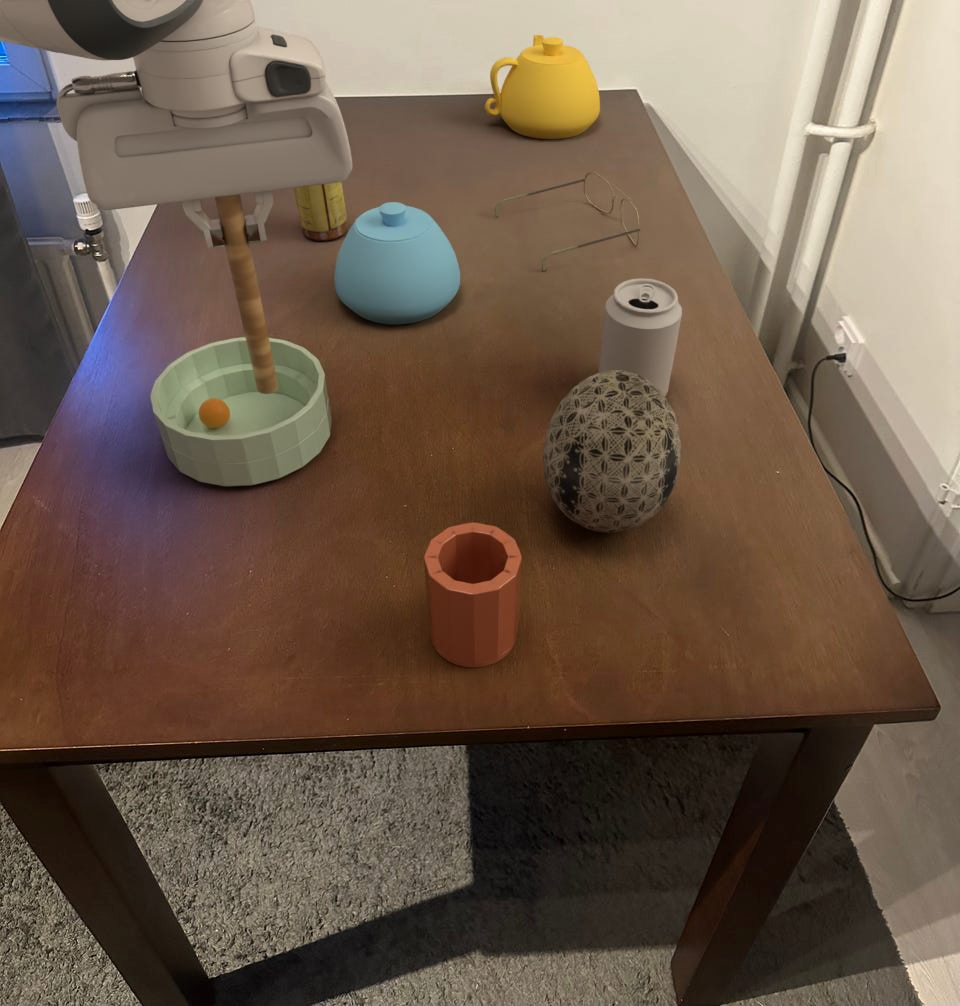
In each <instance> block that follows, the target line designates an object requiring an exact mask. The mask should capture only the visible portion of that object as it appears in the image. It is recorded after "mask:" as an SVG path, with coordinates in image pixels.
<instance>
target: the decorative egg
mask: <svg viewBox="0 0 960 1006" xmlns="http://www.w3.org/2000/svg"><path fill="white" fill-rule="evenodd" d="M681 441H682V440H681V433H680V427H679V423H678V419H677V416H676V413H675V411H674V409H673V407H672V405H671V403H670V402H669V400H668V399H667V397H666V396H664V395H663V394H662V392H661V391H660V390H659V389H658V388H657V387H656V386H655V385H654V384H652V383H651V382H650V381H648V380H647V379H645V378H644V377H642V376H640V375H638V374H636V373H633V372H630V371H624V370H610V371H603V372H600V373H598V372H597V373H595V374H592V375H591V376H588V377H587V378H585V379H583V380H582V381H579V383H578V384H576V385H574V387H572V388H571V389H570V391H568V392H567V394H566V395H565V396H564V397H563V398H562V400H561V401H560V403H559V404H558V405H557V408H556V409H555V411H554V413H553V414H552V417H551V420H550V422H549V425H548V428H547V430H546V434H545V438H544V444H543V450H542V451H543V452H542V468H543V475H544V479H545V485H546V486H547V490H548V492H549V495H550V497H551V498H552V500H553V502H554V504H555V505H556V506H557V508H558V509H559V510H560V511H561V512H562V514H564V515H565V516H566V517H567V518H568V519H569V520H571V521H572V522H574V523H575V524H576V525H579V526H581V527H583V528H585V529H588V530H590V531H594V532H599V533H609V534H610V533H612V534H613V533H621V532H625V531H626V532H627V531H628V530H632V529H635V528H637V527H640V526H642V525H643V524H645V523H646V522H649V520H651V519H652V518H654V517H655V516H656V515H657V514H658V512H659V511H660V510H661V509H662V508H663V507H664V506H665V504H666V503H667V501H668V500H669V498H670V496H671V494H672V492H673V490H674V488H675V485H676V482H677V479H678V477H679V473H680V465H681V458H682V442H681Z"/></svg>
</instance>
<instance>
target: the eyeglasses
mask: <svg viewBox="0 0 960 1006" xmlns="http://www.w3.org/2000/svg"><path fill="white" fill-rule="evenodd" d="M590 174H593V175H596V176H598V178H600V179H602V180H603V181H604V182H605V183H606V184H607V185H608V187H609V188H610V190H611V193H612V199H611V202H610V203H611V204H612V205H611V209H610V211H605V210H603V209H602V208H600V207H598V206H596V205H595V204H594V203H593V202H592V201H591V200H590V199H589V197H588V196H587V191H586V181H587V177H588V175H590ZM579 183H583V193H584V197H585V199H586V201H587V202H588V203H589V204H590V205H591V206H593V208H596V209H597V210H599V211H600V212H602V213H604V214H611V213H612V212H613V210H614V205H615V198H617V199H618V200H619V201H621V202H620V206H619V208H618V210H620V218H621V219H620V220H621V224H622V226H623V229H624V231H625V232H621V233H618V234H614V235H611V236H607V237H603V238H601V239H596V240H593V241H590V242H586V243H582V244H578V245H574V246H570V247H566V248H562V249H558V250H556V251H552V252H549V253H547V254H546V255H545V256H544V258H543V260H542V262H541V265H542V266H541V270H542V272H545V271H547V263H546V262H547V259H549V258H550V257H552V256H556V255H559V254H562V253H566V252H569V251H573V250H577V249H580V248H583V247H586V246H590V245H594V244H598V243H601V242H605V241H608V240H612V239H616V238H618V237H619V238H620V237H623V236H628V238H629V239H630V240H631V242H632V244H633V246H635V247H638V245H639V243H640V231H641V228H640V217H639V212H638V209H637V207H636V206H635V205H634V204H633V203H632V201H631V198H630V197H628V195H626V194H625V193H624V192H623V191H621V189H619V188H618V187H617V186H616V185H615V184H613V183H612V181H608V180H607V179H606V178H604V177H603V176H602V175H601V174H599V173H597V172H594V171H589V172H587V173H586V174H585V175H584V178H582V179H578V180H574V181H571V182H566V183H562V184H559V185H555V186H551V187H546V188H544V189H540V190H536V191H533V192H532V191H531V192H528V193H522V194H519V195H515V196H511V197H508V198H505V199H501V200H500V201H498V202H497V203H496V205H495V207H494V217H495V218H499V217H500V213H499V207H500V205H502V204H503V203H506V202H511V201H514V200H518V199H522V198H527V197H529V196H534V195H536V194H541V193H544V192H548V191H552V190H556V189H560V188H563V187H568V186H571V185H575V184H579ZM612 186H613V187H614V188H615V189H616V190H618V191H619V192H620V193H621V194H623V196H624V197H626V198H622V199H621V198H620V197H619V196H618V195H615V193H614V192H615V191H614V189H613V187H612ZM625 201H627V202H628V203H629V204H630V205H631V206H632V208H634V211H635V213H636V218H637V228H636V229H633V230H629V231H628V230H627V228H626V226H625V223H624V217H623V204H625ZM634 233H637V242H635V240H634V239H633V238H632V236H631V234H634Z"/></svg>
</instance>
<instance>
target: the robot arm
mask: <svg viewBox="0 0 960 1006" xmlns="http://www.w3.org/2000/svg"><path fill="white" fill-rule="evenodd" d="M0 42H2V43H8V44H13V45H18V46H22V47H28V48H31V49H36V50H37V49H38V50H42V51H46V52H51V53H56V54H63V55H68V56H73V57H78V58H84V59H89V60H95V61H105V62H106V61H123V60H129V59H132V60H133V63H134V67H135V70H133V71H124V72H123V71H122V72H114V73H109V74H108V73H107V74H106V75H98V76H91V75H81V76H80V75H79V76H77V77H73V78H71V82H70V83H68V84H66V85H65V86H64V87H62V89H60V90H59V92H58V94H57V97H56V108H57V112H58V115H59V118H60V121H61V124H62V127H63V129H64V131H65V133H66V134H67V135H68V136H69V137H70V138H71V139H72V140H74V141H75V142H76V144H77V152H78V158H79V164H80V165H79V166H80V169H81V175H82V179H83V183H84V187H85V191H86V195H87V197H88V199H89V200H90V202H91V203H93V204H94V205H95V206H96V207H98V208H99V209H100V210H103V211H114V210H121V209H122V210H123V209H130V208H138V207H139V208H140V207H147V206H155V205H163V204H170V203H171V204H173V203H179V202H181V205H182V210H183V213H184V215H185V216H186V217H187V218H188V219H189V220H190V221H191V222H192V223H193V224H194V225H195V226H196V227H197V228H198V229H199V230H200V231H202V232H203V235H204V236H203V237H204V240H205V244H206V249H207V250H211V249H219V248H223V247H224V248H226V247H225V241H224V237H223V232H222V227H221V225H220V220H219V218H213V219H211V218H209V217H208V215H207V214H206V213H205V212H204V211H203V209H202V200H205V199H212V198H214V197H222V196H230V195H239V194H240V195H245V194H246V195H247V194H253V195H254V199H255V204H256V206H255V208H254V212H253V214H245V215H244V217H245V225H246V230H247V233H248V240H249V243H250V244H255V243H256V244H257V243H263V242H267V241H268V240H267V233H266V228H265V223H266V222H267V219H268V218H269V215H270V212H271V210H272V208H273V205H274V203H275V201H274V198H273V197H274V196H273V191H279V190H286V189H287V190H288V189H294V188H297V187H305V186H314V185H322V184H330V183H339V182H341V183H344V182H345V181H346V180H347V179H348V178H349V176H350V175H351V173H352V171H353V170H354V169H353V167H354V166H353V165H354V164H353V157H352V151H351V146H350V141H349V137H348V132H347V128H346V125H345V121H344V119H343V115H342V112H341V109H340V107H339V103H338V102H337V99H336V98H335V95H334V92H333V91H332V89H331V87H330V86H329V83H328V82H327V81H326V77H327V76H326V68H325V63H324V59H323V57H322V55H321V53H320V51H319V49H318V48H317V47H316V45H315V44H314V43H313V41H311V39H309V38H306V37H304V36H301V35H297V34H293V33H288V32H284V31H281V30H280V31H279V30H275V29H271V28H268V27H263V26H260V25H257V23H256V17H255V12H254V8H253V5H252V3H251V0H0ZM71 91H74V92H72V93H71ZM69 92H70V93H69ZM214 199H215V198H214Z"/></svg>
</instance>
